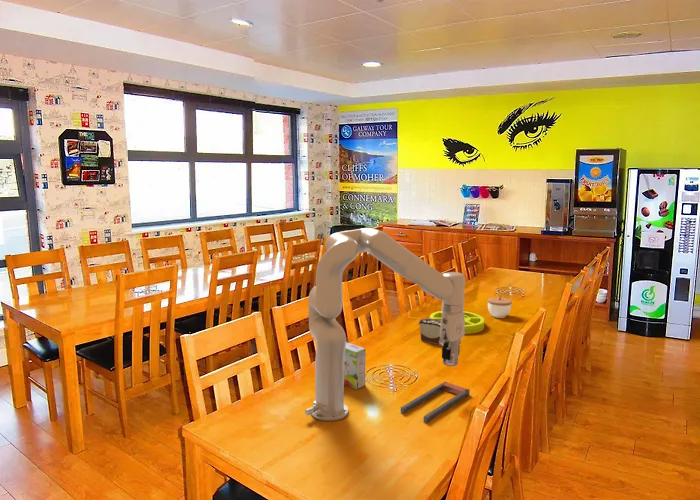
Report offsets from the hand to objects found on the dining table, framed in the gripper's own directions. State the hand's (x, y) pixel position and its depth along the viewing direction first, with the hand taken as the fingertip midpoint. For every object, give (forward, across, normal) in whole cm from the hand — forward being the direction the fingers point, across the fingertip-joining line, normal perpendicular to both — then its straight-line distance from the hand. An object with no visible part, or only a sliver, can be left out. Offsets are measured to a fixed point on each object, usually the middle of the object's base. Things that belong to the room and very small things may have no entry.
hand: (450, 356), depth 184 cm
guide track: (+15, -8, 0) cm, 17 cm away
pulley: (+16, +75, +40) cm, 86 cm away
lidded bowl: (+15, +105, +31) cm, 110 cm away
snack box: (+15, -16, +38) cm, 44 cm away
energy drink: (+3, 0, 0) cm, 3 cm away
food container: (+15, +46, +36) cm, 60 cm away
